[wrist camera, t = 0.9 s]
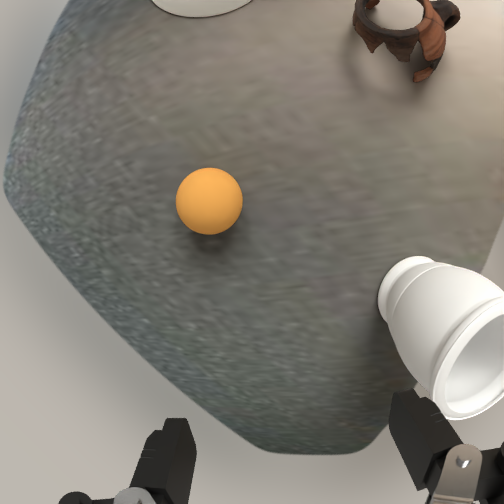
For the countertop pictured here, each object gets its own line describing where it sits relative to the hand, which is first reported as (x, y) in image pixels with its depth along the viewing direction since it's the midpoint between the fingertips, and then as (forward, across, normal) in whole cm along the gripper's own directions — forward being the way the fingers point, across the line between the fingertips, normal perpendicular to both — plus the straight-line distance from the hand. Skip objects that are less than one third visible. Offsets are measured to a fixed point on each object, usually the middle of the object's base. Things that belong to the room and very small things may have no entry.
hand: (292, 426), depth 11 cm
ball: (+17, +4, -8) cm, 19 cm away
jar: (+21, -15, +4) cm, 26 cm away
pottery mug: (+20, -16, -23) cm, 35 cm away
